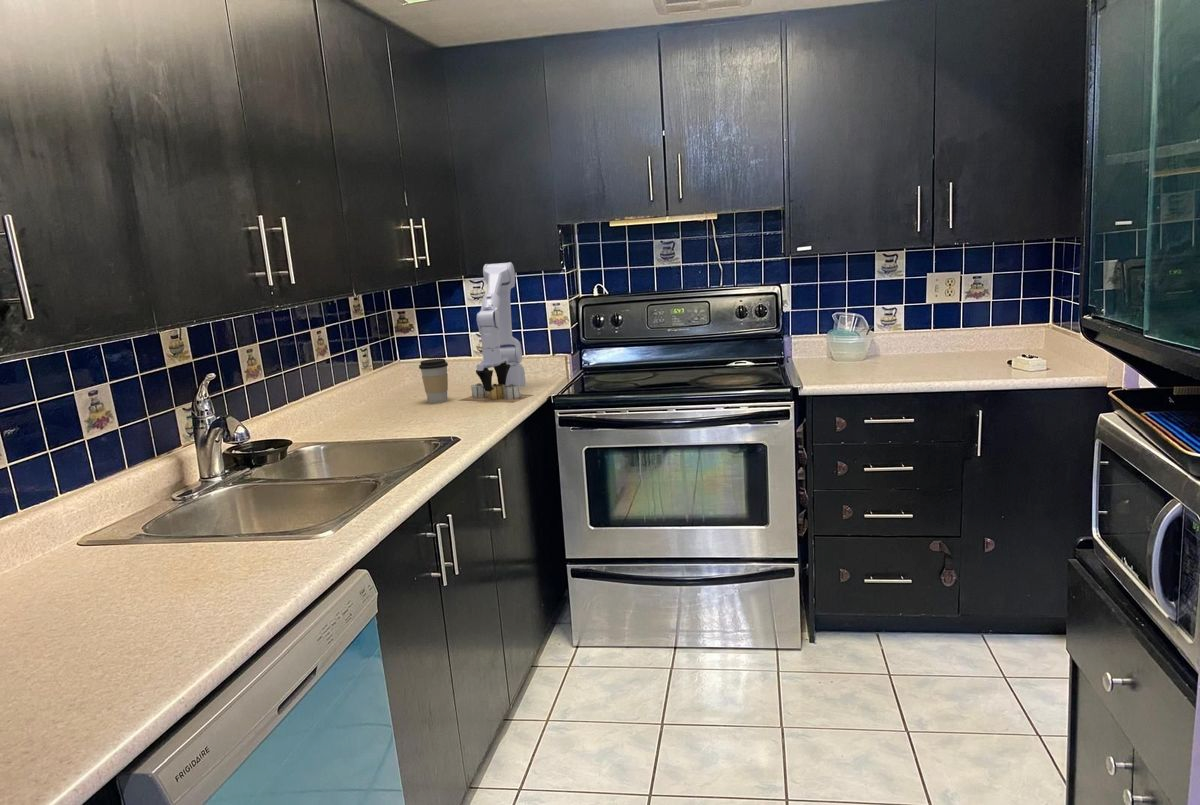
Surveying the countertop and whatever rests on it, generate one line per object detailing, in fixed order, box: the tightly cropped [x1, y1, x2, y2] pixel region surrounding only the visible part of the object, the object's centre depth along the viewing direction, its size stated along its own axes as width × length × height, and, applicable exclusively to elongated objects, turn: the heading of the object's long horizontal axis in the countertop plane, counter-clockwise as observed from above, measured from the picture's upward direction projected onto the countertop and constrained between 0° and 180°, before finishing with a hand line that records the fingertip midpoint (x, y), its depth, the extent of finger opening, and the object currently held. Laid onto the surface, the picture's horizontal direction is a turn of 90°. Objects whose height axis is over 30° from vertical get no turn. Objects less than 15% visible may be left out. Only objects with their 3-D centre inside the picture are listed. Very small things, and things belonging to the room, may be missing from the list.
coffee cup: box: [418, 358, 449, 404], centre depth 267 cm, size 9×9×15 cm
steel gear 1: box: [470, 383, 489, 399], centre depth 269 cm, size 5×5×4 cm
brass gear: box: [488, 383, 505, 399], centre depth 265 cm, size 5×5×4 cm
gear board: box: [458, 382, 534, 404], centre depth 266 cm, size 12×22×6 cm, turn 61°
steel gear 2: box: [503, 384, 522, 400], centre depth 262 cm, size 5×5×4 cm
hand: (495, 388), depth 265 cm, fingers open, 7 cm apart
